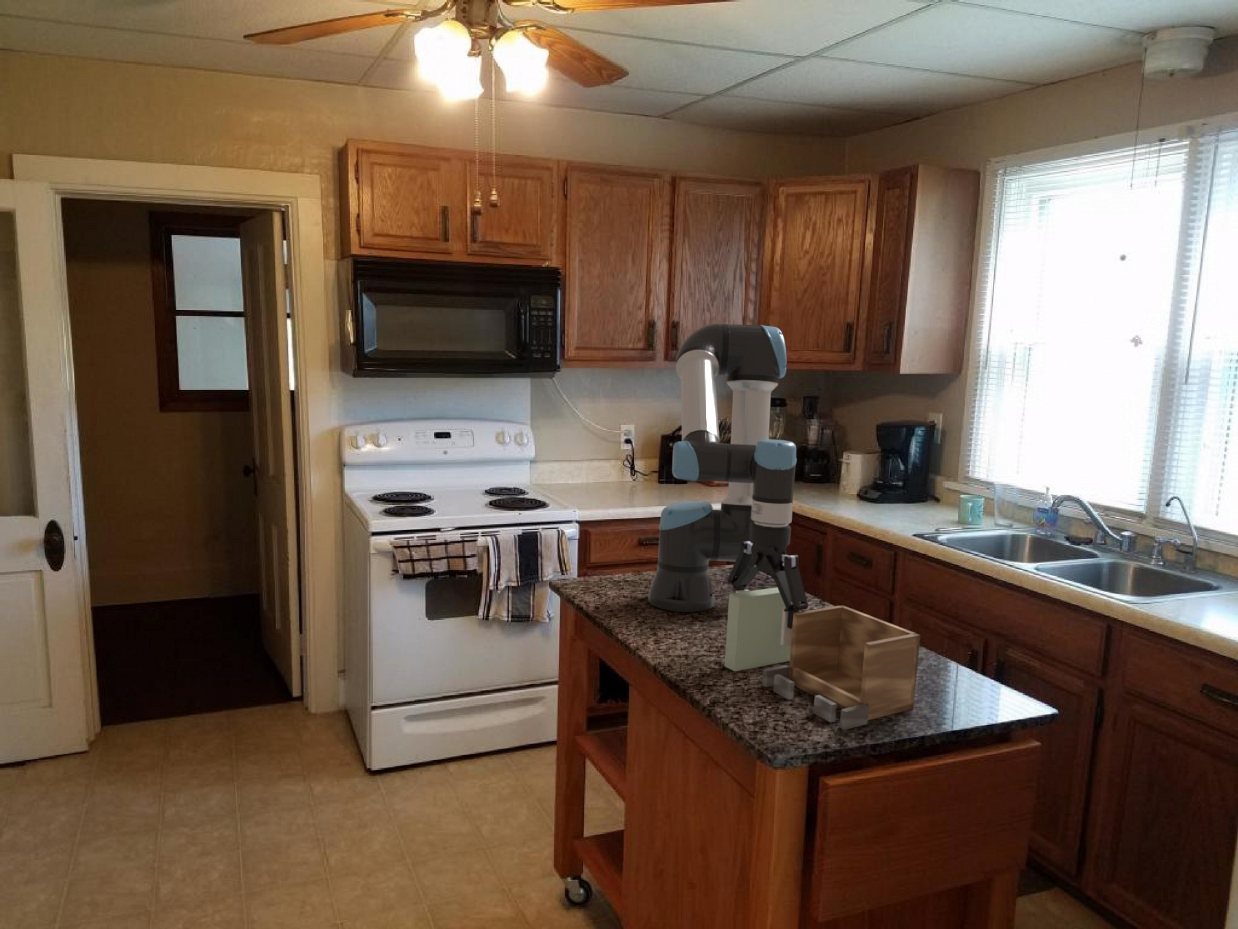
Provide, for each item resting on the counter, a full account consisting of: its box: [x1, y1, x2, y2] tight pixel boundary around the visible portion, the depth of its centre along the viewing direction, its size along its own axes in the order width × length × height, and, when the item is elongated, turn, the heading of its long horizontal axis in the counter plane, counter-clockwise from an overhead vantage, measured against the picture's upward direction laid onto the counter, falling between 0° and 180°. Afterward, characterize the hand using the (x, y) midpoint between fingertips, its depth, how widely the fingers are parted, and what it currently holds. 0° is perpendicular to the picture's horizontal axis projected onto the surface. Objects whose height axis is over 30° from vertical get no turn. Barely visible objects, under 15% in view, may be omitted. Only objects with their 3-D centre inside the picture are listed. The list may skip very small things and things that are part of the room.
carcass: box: [761, 604, 921, 731], centre depth 153 cm, size 20×17×13 cm
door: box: [724, 586, 801, 672], centre depth 168 cm, size 15×4×14 cm, turn 121°
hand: (763, 633), depth 168 cm, fingers open, 13 cm apart
